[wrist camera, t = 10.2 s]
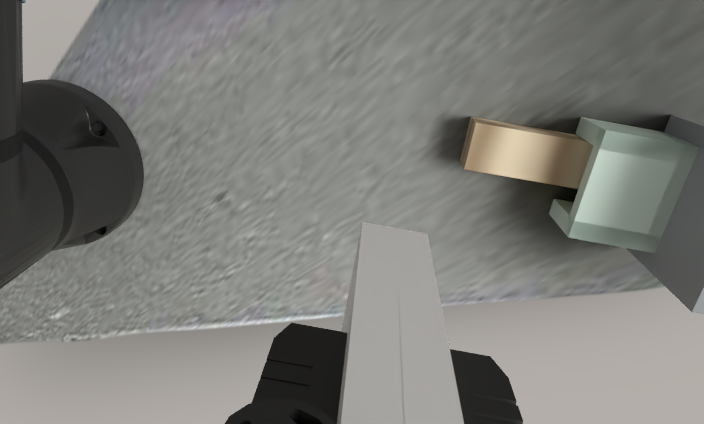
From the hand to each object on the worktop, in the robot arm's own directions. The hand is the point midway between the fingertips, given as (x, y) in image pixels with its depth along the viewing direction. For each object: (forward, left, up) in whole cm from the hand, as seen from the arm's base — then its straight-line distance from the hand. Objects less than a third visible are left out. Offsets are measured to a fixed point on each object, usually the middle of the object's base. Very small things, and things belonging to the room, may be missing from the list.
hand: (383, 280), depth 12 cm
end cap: (+20, -4, -34) cm, 40 cm away
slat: (+15, -3, -35) cm, 38 cm away
